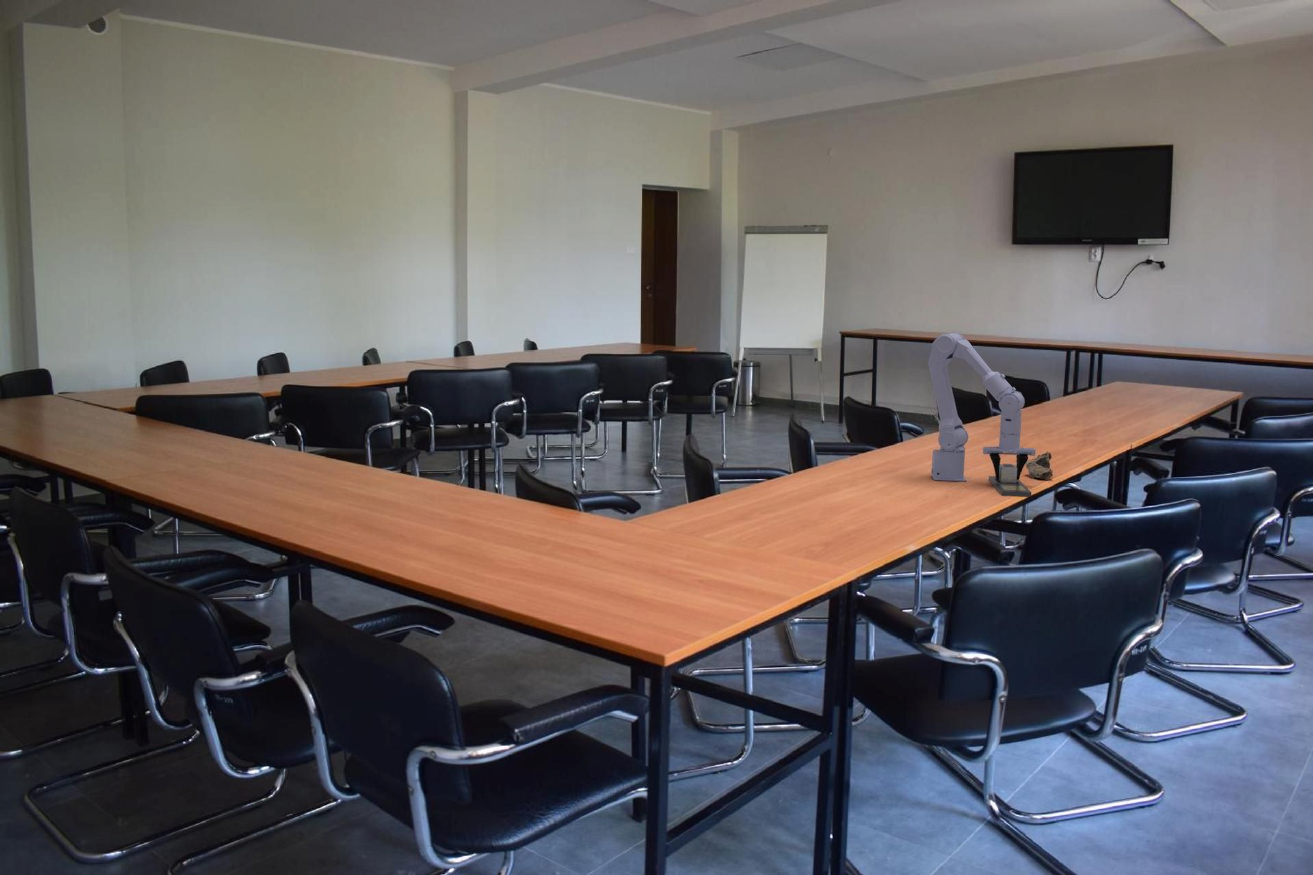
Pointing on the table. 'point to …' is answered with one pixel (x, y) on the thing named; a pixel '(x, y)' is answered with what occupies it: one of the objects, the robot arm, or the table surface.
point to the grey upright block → (1007, 474)
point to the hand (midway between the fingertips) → (1007, 478)
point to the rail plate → (1010, 488)
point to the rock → (1040, 467)
